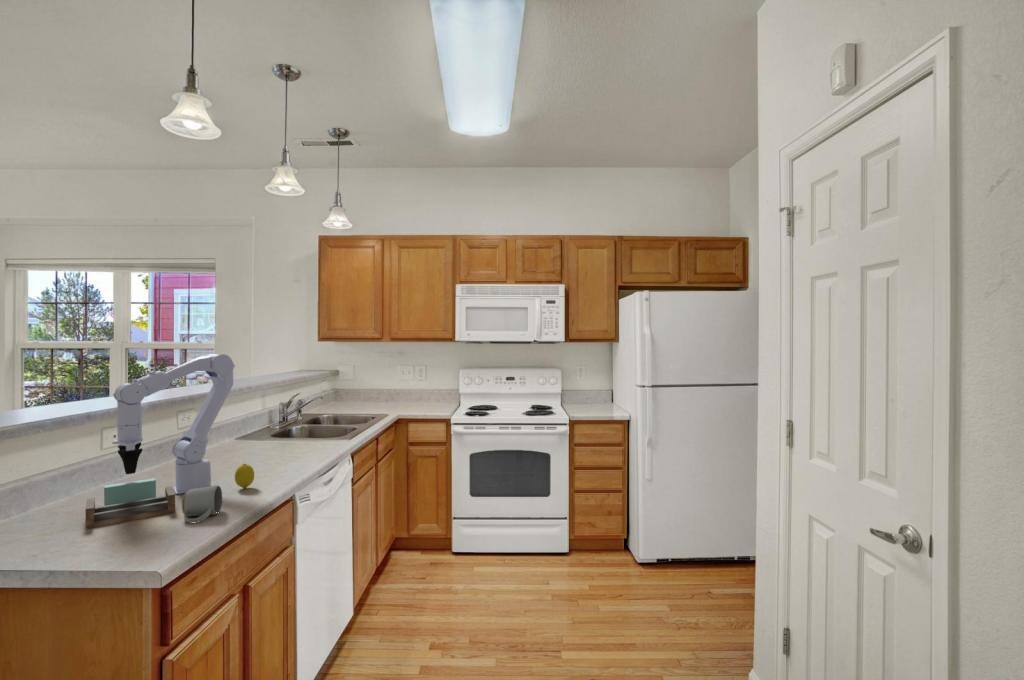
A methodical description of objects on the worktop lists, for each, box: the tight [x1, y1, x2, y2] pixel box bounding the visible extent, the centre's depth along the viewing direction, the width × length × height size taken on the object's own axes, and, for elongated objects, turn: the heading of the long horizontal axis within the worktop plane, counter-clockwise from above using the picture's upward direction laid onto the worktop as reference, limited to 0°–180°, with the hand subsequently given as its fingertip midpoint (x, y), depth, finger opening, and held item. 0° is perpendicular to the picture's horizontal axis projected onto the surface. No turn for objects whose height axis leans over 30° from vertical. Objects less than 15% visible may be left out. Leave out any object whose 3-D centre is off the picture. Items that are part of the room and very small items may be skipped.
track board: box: [85, 485, 176, 529], centre depth 138 cm, size 19×10×5 cm, turn 128°
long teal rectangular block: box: [103, 477, 157, 506], centre depth 148 cm, size 12×3×6 cm, turn 128°
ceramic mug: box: [181, 484, 223, 523], centre depth 137 cm, size 11×8×8 cm
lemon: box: [234, 463, 255, 489], centre depth 161 cm, size 6×6×8 cm
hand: (130, 470), depth 148 cm, fingers open, 7 cm apart
